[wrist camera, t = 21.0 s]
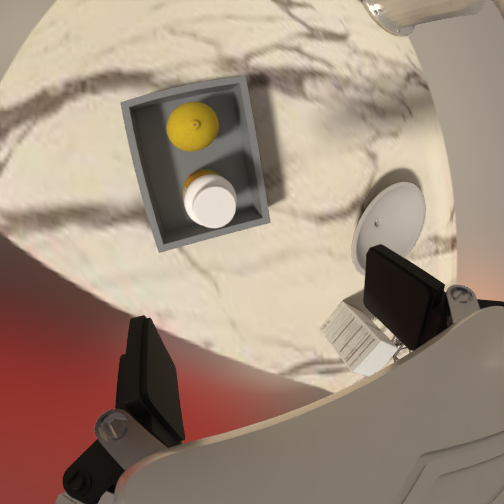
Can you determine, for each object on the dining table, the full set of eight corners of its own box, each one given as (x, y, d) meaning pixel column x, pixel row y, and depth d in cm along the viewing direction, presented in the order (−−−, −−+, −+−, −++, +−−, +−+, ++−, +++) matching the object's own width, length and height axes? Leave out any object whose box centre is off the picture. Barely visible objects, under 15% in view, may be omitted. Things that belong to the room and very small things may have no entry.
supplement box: (362, 310, 52) (400, 348, 40) (339, 338, 53) (372, 379, 42) (342, 298, 48) (382, 339, 37) (317, 329, 50) (351, 374, 39)
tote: (128, 107, 27) (120, 102, 23) (235, 83, 29) (245, 75, 25) (160, 237, 35) (159, 252, 30) (258, 211, 37) (270, 222, 33)
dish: (356, 280, 48) (372, 293, 43) (318, 227, 41) (335, 239, 36) (415, 216, 46) (433, 224, 42) (388, 157, 39) (409, 161, 35)
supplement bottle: (225, 168, 33) (245, 178, 24) (224, 209, 35) (242, 234, 26) (182, 168, 31) (185, 179, 23) (182, 211, 33) (186, 237, 25)
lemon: (170, 104, 28) (169, 94, 21) (216, 108, 29) (228, 99, 22) (165, 149, 30) (162, 152, 23) (210, 151, 31) (221, 156, 24)
